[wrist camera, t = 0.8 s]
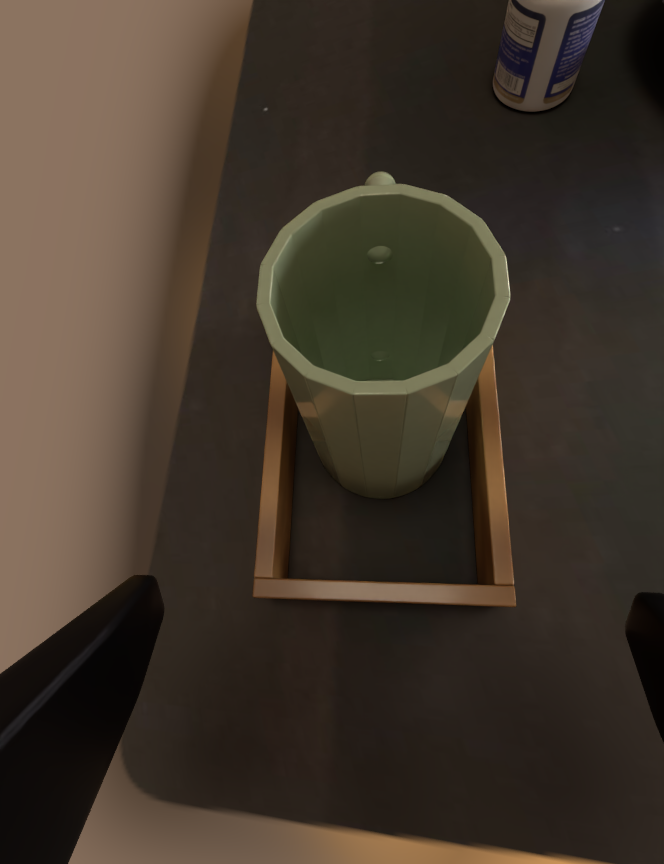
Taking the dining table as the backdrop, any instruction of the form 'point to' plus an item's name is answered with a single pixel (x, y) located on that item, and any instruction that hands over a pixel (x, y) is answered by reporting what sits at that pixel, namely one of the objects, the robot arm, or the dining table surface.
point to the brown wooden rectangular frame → (489, 591)
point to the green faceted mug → (383, 326)
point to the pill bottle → (542, 51)
